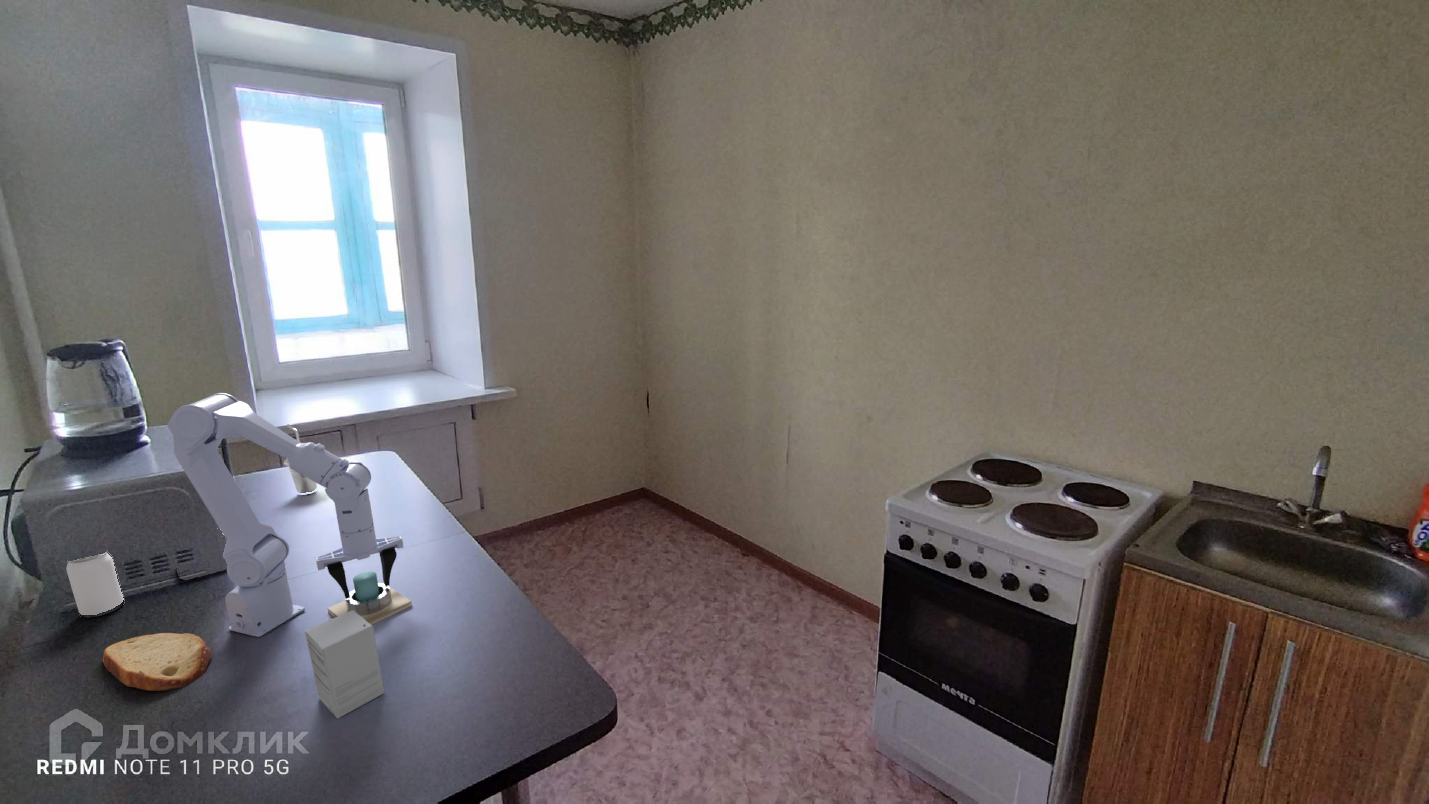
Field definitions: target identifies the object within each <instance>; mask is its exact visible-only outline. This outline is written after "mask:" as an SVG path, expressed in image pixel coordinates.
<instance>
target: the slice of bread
mask: <svg viewBox="0 0 1429 804" xmlns="http://www.w3.org/2000/svg"><path fill="white" fill-rule="evenodd" d="M102 656H103V657H102V662H103V665H104V667H106V668H107V669H106V668H105V669H106V670H107V671H108V672H109V673H110V672H111V675H113V676H114V677H115V678H116V679H117V680H118V681H119V682H120V683H121V684H124V685H125V686H127V687H129V688H135V689H140V690H142V691H143V690H144V691H148V692H149V691H151V692H152V691H153V692H158V691H159V692H160V691H172V690H175V689H179V688H184V687H185V686H188V685H190V684H191V683H193V682H194V681H195V680H196V679H198V678H200V677H201V676H203V674H205V673H206V671H207V668H208V665H209V662H210V660H211V659H212V656H213V652H212V650H211V647H210V646H208V644H207V642H206V641H205V640H204V639H203V638H201V637H200V636H198V635H196V634H194V633H193V634H192V633H173V632H159V633H154V634H143V635H139V636H136V637H131V638H128V639H124V640H121V641H118V642H115V643H113V644H111V645H109V646H107V647H106V648H105V649H104V652H103V655H102Z"/></svg>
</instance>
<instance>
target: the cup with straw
mask: <svg viewBox="0 0 1429 804" xmlns="http://www.w3.org/2000/svg"><path fill="white" fill-rule="evenodd" d="M286 427H288V428H289V429H290V430H292V431H293V432H294V433H295V436H296V439H295V440H297V441H298V442H300V443H301V440H300V434H299V431H298V429H297V428H296V427H294V426H292V425H290V424H287V423H286ZM283 466H285V467H287V469H288V471H289V473H290V475H291V477H292V480H293V483H294V486H295V489H296V491H297V493H298V492H299V493H306V492H312V491H314V490H315V489H316V490H317V487H318V486H317V483H316V482H314V481H312V480H310V479H309V478H307V477H305V476H303V475H301V474H300V473H298V472H296V471H294V470H293V469H291V468H290V467H289V463H288V459H287V458H285V459H284V461H283Z"/></svg>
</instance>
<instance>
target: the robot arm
mask: <svg viewBox="0 0 1429 804" xmlns="http://www.w3.org/2000/svg"><path fill="white" fill-rule="evenodd" d="M166 426H167V428H168V430H169V431H170V433H171V434H172V436H173V437H172V438H173V439H172V441H173V453H174V455H175V458H176V460H177V461H178V462H179V465H180V466H181V468H182V470H183V471H184V473H185V474H186V476H187V477H188V479H189V481H190V482H191V484H192V486H193V487H194V489H195V490H196V492H197V494H198V495H199V497H200V499H201V500H202V502H203V503H204V505H205V507H206V509H207V511H208V512H209V513H210V515H211V517H212V518H213V519H214V522H215V523H216V525H217V527H218V528H220V530H221V531H222V534H223V535H224V536H225V542H226V544H225V548H224V552H223V558H224V559H225V561H226V564H227V570H226V573H227V576H228V578H229V579H230V580H231V581H232V582H233V583H234V584H236V586H235V587H234V589H232V590H231V591H229V592H228V593H227V594H226V595H225V599H224V600H225V602H224V603H225V608H226V612H227V615H228V619H229V624H230V626H229V627H228V630H229V631H232V632H236V633H241V634H244V635H248V636H253V637H257V638H260V637H262V636H264V635H265V634H267V633H268V632H271V631H272V630H273V629H275V628H277V627H278V626H280V625H282V624H283V623H285V622H286V621H288V620H290V619H293V618H294V617H295V616H297V615H298V614H300V613H302V612H303V611H305V610H306V608H305V607H304V606H302V605H296V604H293V600H292V596H291V590H290V585H289V581H288V576H287V570H286V562H285V560H286V559H287V558H288V556H289V554H290V546H289V544H288V542H287V540H286V539H285V538H283V536H280V535H279V534H277V532H276V531H275V529H274V528H273V526H271V525H267V524H263V523H260V521H259V520H258V518H257V516H256V515H255V512H254V511H253V509H252V507H251V505H250V504H249V503H248V500H247V499H246V498H245V496H244V493H243V492H242V491H241V489H240V487H239V486H238V483H237V482H236V480H235V478H233V476H232V474H231V472H230V470H229V469H228V467H227V465H226V464H225V462H224V460H223V458H222V457H221V455H220V453H219V452H218V448H219V446H220V445H221V443H222V441H223V439H232V438H233V439H234V438H244V439H246V440H248V441H250V442H252V443H255V444H256V445H257V446H260V447H263V448H265V449H266V450H269V451H270V452H273V453H275V454H277V455H279V456H281V457H283V458H285V459H286V458H287V459H288V463H289V467H290V468H291V469H293V470H294V471H296V472H298V473H300V474H301V475H303V476H305V477H307V478H309V479H310V480H312V481H314V482H316V484H318V485H320V486H322V487H323V488H324V491H325V494H326V496H327V497H328V498H329V499H331V500H332V502H333V503H334V507H335V514H336V519H337V524H338V530H339V536H340V543H341V547H340V548H338V549H334V550H333V551H331V552H327V553H325V554H321V555H319V556H316V557H315V561H316V562H315V563H316V567H317V571H322V570H325V569H326V568H327V571H328V574H329V575H330V576H331V577H332V578H333V579H334V580H335V582H337V584H338V585H339V587H340V589H341V590H342V592H343V594H344V597H345V598H346V599H348V598H350V594H349V592H350V591H349V587H348V584H347V578H346V570H345V568H344V564H343V563H344V562H349V561H352V560H358V561H360V560H365V559H368V558H370V556H371V555H374V554H379V558H380V563H381V571H382V580H383V581H382V582H383V584H385V586H386V587H387V586H389V587H391V586H390V585H391V584H390V578H391V573H392V569H393V566H394V563H395V562H396V559H397V556H398V555H397V554H398V553H397V551H396V549H397V550H398V549H403V548H404V541H403V538H402V536H401V534H400V535H396V536H390V537H389V536H388V537H380V538H377V537H376V531H375V524H374V518H373V513H372V511H373V510H372V507H371V500H370V494H369V489H368V486H369V485H370V483H371V481H372V474H371V471H370V470H369V468H368V467H367V466H366V465H364V464H363V463H362V462H360V461H349V460H347V459H345V458H343V459H342V458H340V457H339V456H337V455H335V454H333V453H331V452H330V451H328V450H327V449H326V446H325V445H323V444H322V443H320V442H319V443H317V444H316V443H314V442H313V441H312V442H301V441H300V442H298V441H297V439H295V438H294V437H292V436H291V435H289V434H287V433H286V432H284V431H283V430H281V429H280V428H278V427H277V426H275V425H274V424H272V423H270V422H269V421H268V420H267V419H264V418H263V417H262V416H260V415H258V414H257V413H255V412H254V410H253V409H252V408H251V406H250V405H249V404H248V403H246V402H244V401H241V400H238V398H237V397H235V396H234V395H232V394H228V393H226V392H218V393H214V394H212V395H210V396H208V397H206V398H203V399H200V400H198V401H195V402H193V403H190V404H184V405H182V406H180V407H178V408H177V409H176V410H175V411H174V412H173V414H172V415H171V418H170V419H169V421H168V422H167V424H166ZM345 598H344V599H345Z"/></svg>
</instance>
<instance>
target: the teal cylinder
mask: <svg viewBox="0 0 1429 804" xmlns="http://www.w3.org/2000/svg"><path fill="white" fill-rule="evenodd" d="M352 582H353V587H354V589H355V594H356V599H357V601H359V602H360V601H368V600H371V599H373V598H376V597H378V596H379V595H380V593H379V587H378V583H379V582H378V576H377V573H376V572H375V571H365V572H361V573H359V574H356V575H355V576H354V577H353V578H352Z"/></svg>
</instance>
